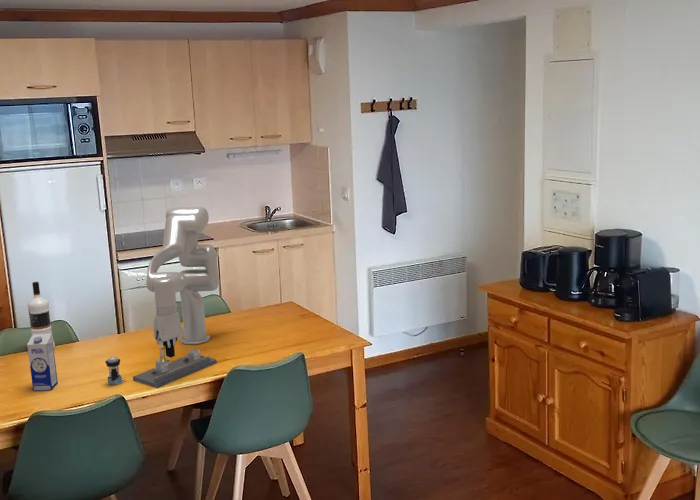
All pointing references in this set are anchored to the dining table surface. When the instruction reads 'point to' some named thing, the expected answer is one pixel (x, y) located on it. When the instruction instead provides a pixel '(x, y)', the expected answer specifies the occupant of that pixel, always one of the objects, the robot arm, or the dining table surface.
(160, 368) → the sliding leg
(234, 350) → the dining table surface
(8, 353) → the dining table surface
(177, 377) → the bolt plate
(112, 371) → the push button
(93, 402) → the dining table surface
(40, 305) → the vodka
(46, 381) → the milk carton
